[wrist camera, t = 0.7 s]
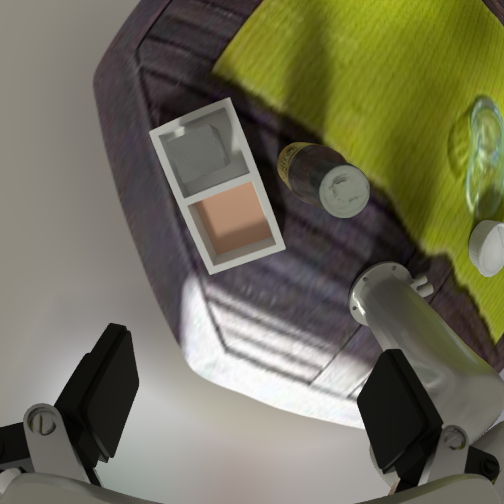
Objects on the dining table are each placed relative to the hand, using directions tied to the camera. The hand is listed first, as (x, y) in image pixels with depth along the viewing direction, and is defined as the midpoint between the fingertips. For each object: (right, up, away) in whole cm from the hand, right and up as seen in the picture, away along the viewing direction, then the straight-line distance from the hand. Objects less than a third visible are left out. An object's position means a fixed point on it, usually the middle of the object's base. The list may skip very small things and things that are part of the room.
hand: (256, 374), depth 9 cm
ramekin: (+46, +7, +32) cm, 57 cm away
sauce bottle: (+6, +16, +28) cm, 33 cm away
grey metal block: (-6, +18, +26) cm, 32 cm away
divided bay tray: (-4, +14, +29) cm, 32 cm away
